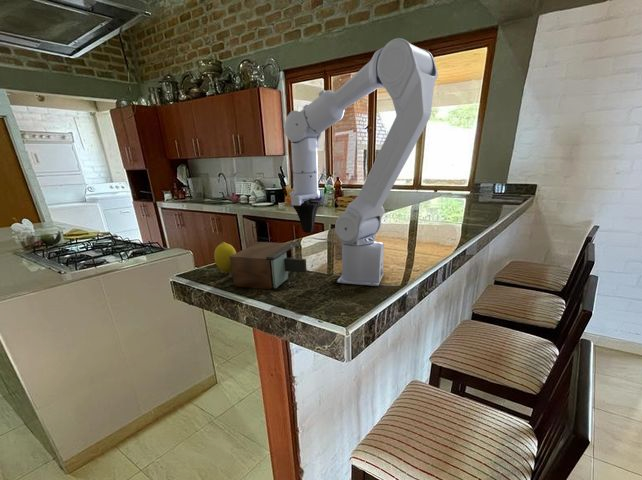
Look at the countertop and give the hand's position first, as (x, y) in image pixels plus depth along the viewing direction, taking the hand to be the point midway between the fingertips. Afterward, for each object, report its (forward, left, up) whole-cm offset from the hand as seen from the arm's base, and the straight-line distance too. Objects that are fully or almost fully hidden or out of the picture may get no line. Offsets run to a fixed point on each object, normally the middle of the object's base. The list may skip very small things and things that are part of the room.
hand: (307, 232), depth 83 cm
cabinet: (+8, +9, -9) cm, 16 cm away
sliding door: (0, +13, -9) cm, 16 cm away
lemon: (+19, +8, -10) cm, 23 cm away
